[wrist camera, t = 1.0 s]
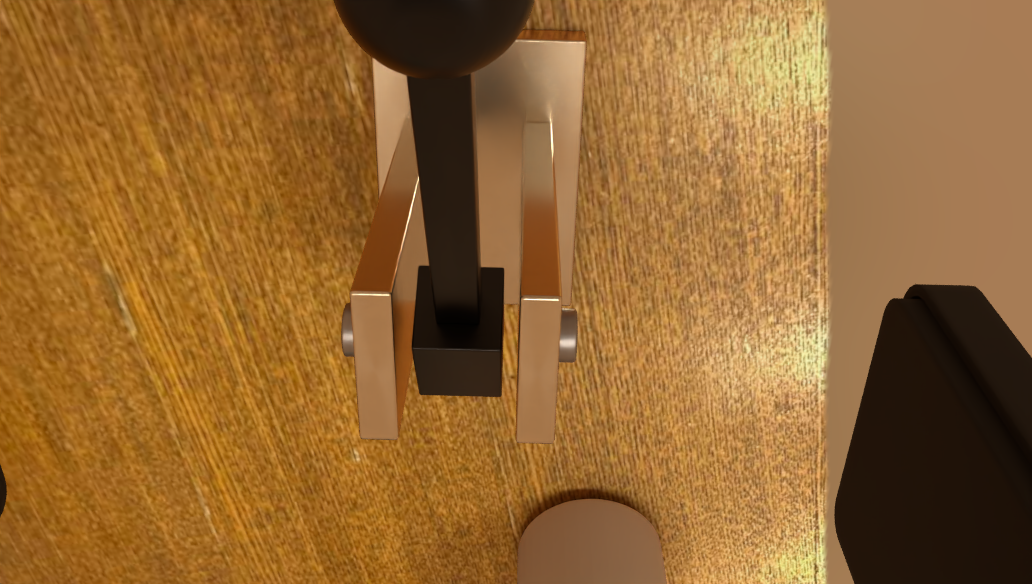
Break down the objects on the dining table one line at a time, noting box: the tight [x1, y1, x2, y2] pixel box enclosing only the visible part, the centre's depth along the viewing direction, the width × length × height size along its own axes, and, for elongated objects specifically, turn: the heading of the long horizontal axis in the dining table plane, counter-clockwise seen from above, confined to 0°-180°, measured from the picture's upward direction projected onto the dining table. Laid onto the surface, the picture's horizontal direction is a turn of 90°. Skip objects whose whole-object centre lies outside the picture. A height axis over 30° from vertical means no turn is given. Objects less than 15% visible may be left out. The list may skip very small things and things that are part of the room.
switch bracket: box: [341, 30, 587, 444], centre depth 29 cm, size 10×7×13 cm
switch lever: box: [334, 0, 534, 397], centre depth 20 cm, size 15×3×3 cm, turn 179°
